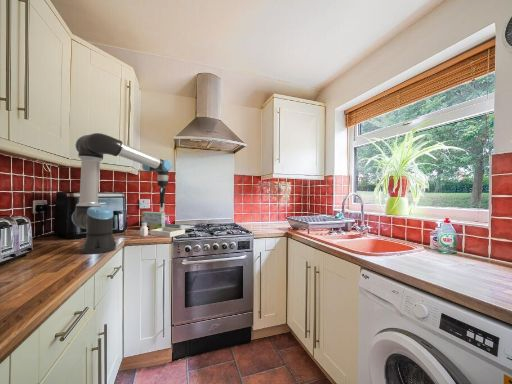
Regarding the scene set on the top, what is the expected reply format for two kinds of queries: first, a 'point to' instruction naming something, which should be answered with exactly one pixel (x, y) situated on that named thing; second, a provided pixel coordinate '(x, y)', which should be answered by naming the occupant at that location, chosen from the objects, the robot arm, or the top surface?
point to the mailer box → (167, 232)
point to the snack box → (153, 219)
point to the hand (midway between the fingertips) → (161, 211)
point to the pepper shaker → (144, 230)
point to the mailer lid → (177, 226)
